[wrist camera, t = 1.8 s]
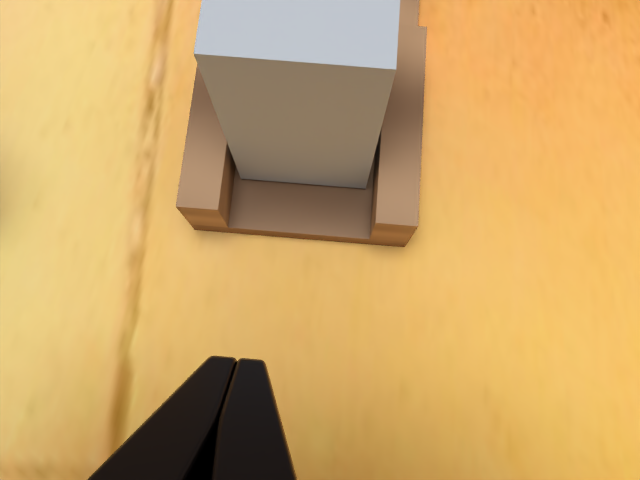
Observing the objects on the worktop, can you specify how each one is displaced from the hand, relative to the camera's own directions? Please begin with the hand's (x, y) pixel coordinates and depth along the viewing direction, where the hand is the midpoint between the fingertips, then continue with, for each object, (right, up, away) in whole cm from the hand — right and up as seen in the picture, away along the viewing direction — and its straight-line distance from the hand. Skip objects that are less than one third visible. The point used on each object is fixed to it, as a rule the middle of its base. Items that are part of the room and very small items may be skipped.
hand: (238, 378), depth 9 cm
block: (+1, +7, +15) cm, 16 cm away
